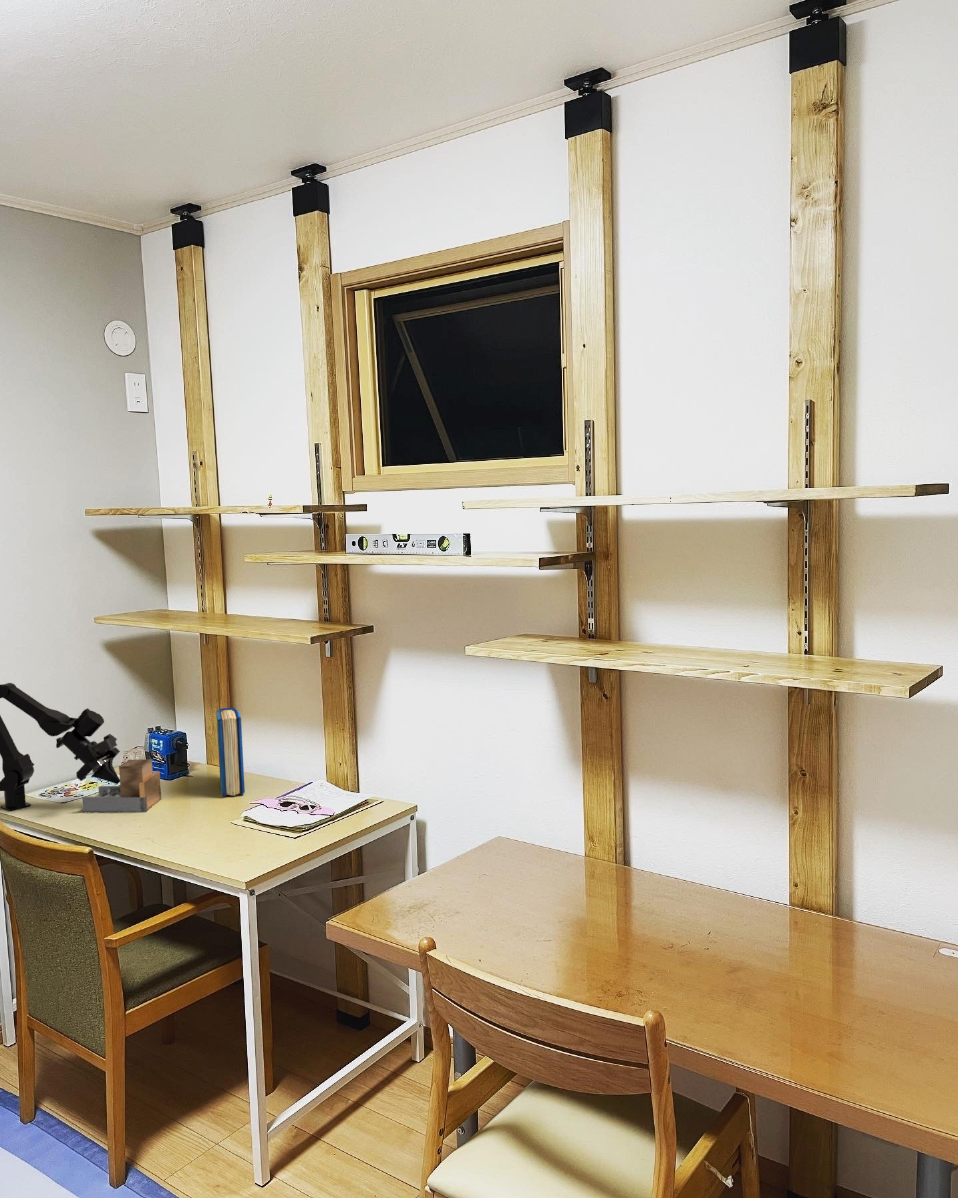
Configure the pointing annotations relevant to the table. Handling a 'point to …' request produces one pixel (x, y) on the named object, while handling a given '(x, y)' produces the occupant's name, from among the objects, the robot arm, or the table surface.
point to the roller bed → (125, 797)
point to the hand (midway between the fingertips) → (118, 782)
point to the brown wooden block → (133, 775)
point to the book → (230, 751)
